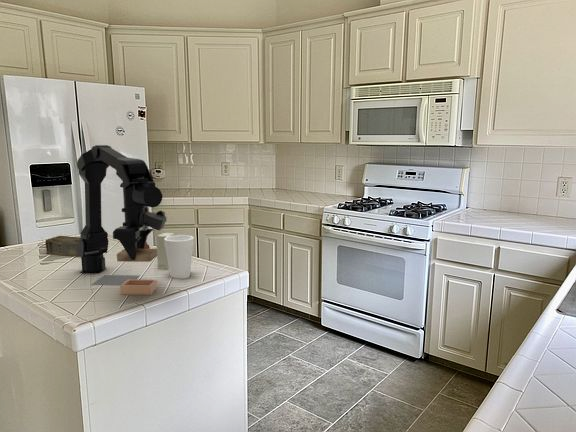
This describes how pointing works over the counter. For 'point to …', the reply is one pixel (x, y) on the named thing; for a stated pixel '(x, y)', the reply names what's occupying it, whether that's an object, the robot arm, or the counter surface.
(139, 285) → the dish
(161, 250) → the skincare box
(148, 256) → the lid
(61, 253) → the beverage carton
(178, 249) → the foam cup
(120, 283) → the mat
